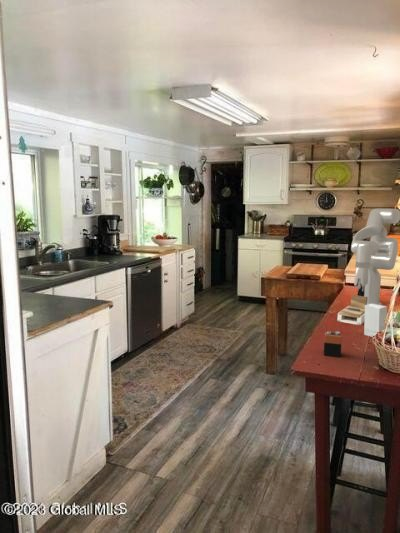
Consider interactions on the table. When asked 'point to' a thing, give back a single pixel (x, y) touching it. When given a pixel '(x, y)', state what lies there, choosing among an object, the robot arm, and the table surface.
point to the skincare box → (374, 319)
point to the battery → (332, 344)
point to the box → (351, 319)
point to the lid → (355, 307)
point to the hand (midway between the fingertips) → (360, 298)
